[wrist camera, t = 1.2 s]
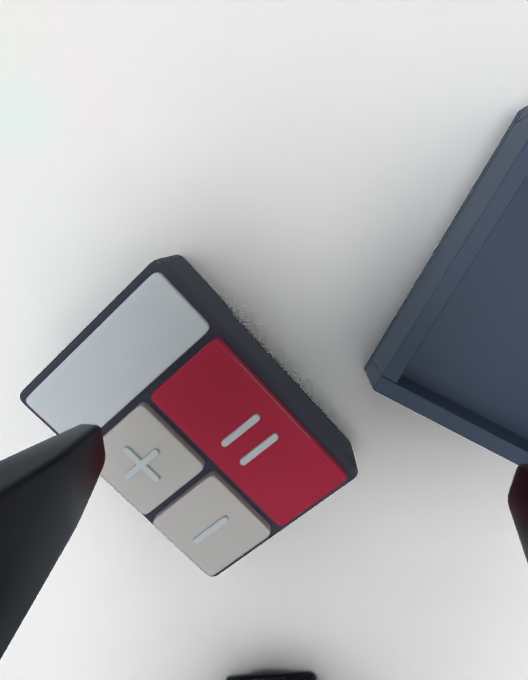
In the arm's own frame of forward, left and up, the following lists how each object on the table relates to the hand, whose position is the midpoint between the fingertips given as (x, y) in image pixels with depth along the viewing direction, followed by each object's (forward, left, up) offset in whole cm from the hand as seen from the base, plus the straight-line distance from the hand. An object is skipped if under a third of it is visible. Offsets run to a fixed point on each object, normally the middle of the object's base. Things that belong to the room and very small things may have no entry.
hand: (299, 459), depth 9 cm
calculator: (-4, +7, -15) cm, 17 cm away
